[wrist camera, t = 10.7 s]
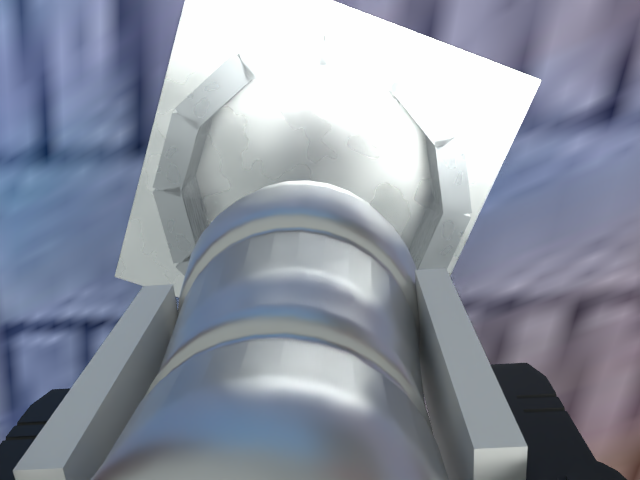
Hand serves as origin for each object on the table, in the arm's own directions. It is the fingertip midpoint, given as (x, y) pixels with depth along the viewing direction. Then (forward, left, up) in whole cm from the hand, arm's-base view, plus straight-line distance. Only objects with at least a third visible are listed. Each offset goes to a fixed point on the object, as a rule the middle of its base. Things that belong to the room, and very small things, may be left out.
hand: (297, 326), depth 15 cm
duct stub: (0, 0, -15) cm, 15 cm away
